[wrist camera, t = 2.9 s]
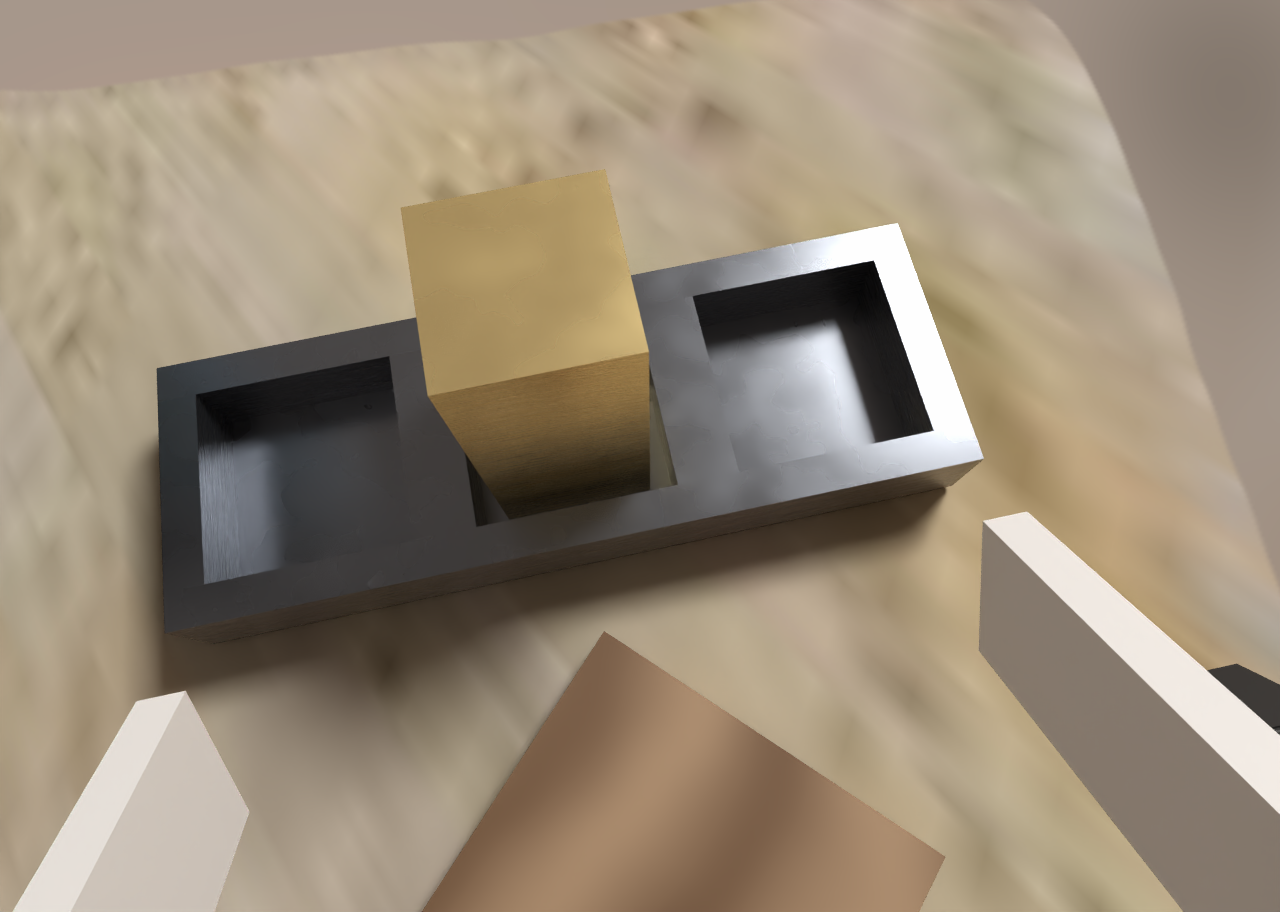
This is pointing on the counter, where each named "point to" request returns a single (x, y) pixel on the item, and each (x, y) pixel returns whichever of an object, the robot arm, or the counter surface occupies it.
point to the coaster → (674, 815)
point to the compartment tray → (557, 539)
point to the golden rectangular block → (534, 340)
